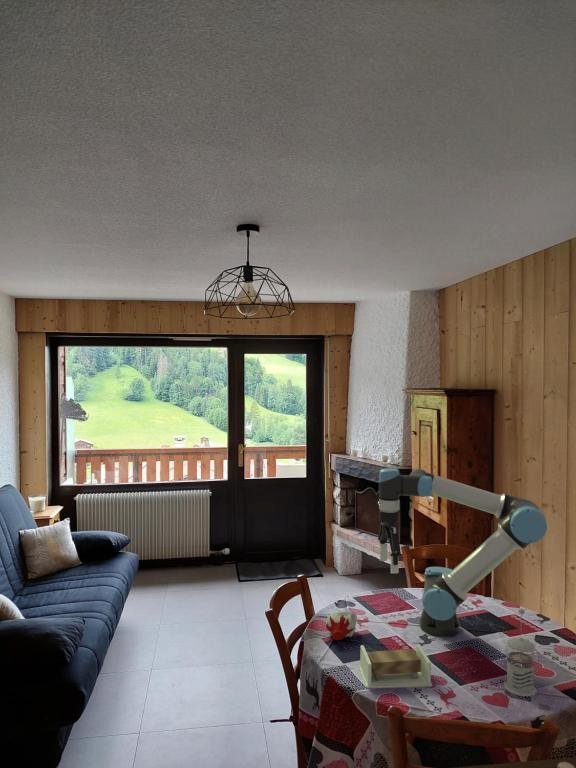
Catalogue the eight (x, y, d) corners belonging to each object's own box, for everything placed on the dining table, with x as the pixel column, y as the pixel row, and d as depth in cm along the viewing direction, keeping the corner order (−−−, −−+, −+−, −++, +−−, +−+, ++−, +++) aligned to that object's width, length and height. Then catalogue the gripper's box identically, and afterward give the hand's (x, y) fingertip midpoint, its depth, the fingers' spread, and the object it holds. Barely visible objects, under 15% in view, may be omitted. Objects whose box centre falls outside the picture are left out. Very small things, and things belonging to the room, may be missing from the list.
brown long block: (372, 675, 174) (372, 662, 174) (366, 664, 181) (366, 652, 181) (420, 671, 177) (421, 659, 177) (412, 660, 184) (412, 648, 184)
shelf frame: (420, 666, 186) (420, 644, 186) (432, 686, 174) (432, 662, 174) (358, 668, 184) (359, 645, 184) (366, 688, 172) (366, 664, 172)
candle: (357, 628, 213) (353, 651, 198) (328, 624, 215) (322, 647, 200) (357, 606, 211) (354, 628, 197) (328, 603, 214) (322, 624, 199)
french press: (497, 679, 178) (499, 602, 178) (532, 678, 179) (533, 601, 179) (512, 697, 168) (514, 616, 168) (549, 695, 169) (550, 615, 169)
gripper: (370, 503, 219) (370, 556, 219) (389, 519, 194) (389, 579, 194) (388, 502, 220) (388, 555, 220) (410, 518, 195) (410, 578, 195)
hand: (388, 566), depth 207 cm, fingers open, 13 cm apart
